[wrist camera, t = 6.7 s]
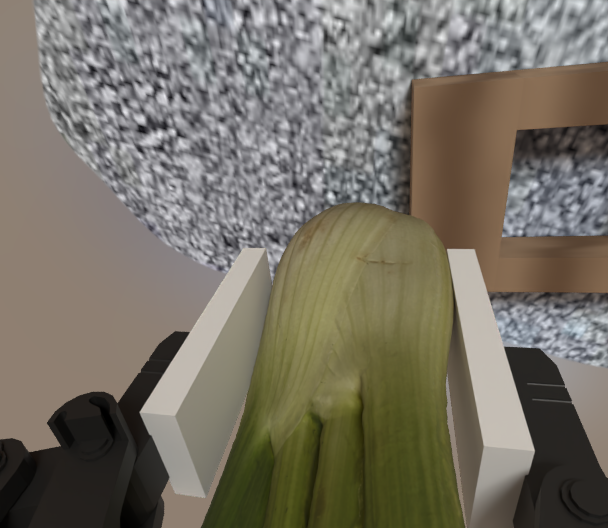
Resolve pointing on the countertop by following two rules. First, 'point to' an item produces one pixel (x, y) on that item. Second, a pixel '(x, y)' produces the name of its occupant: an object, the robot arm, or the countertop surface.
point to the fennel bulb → (349, 384)
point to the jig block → (501, 170)
